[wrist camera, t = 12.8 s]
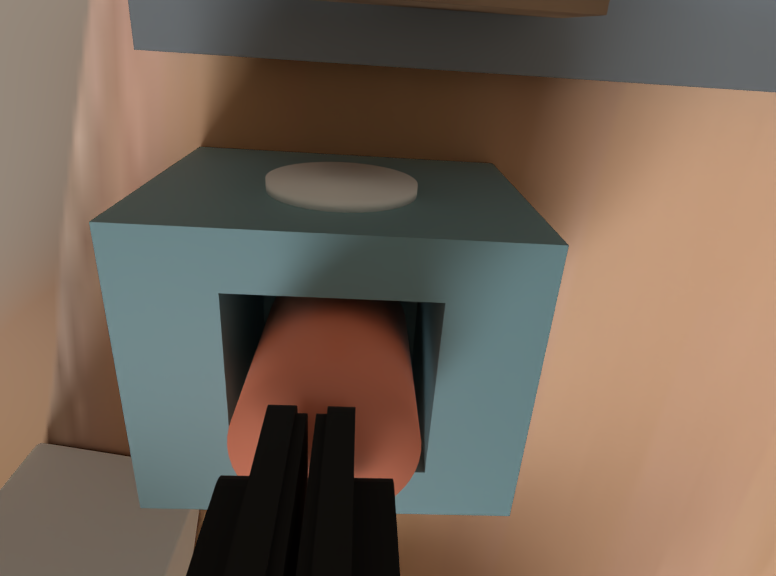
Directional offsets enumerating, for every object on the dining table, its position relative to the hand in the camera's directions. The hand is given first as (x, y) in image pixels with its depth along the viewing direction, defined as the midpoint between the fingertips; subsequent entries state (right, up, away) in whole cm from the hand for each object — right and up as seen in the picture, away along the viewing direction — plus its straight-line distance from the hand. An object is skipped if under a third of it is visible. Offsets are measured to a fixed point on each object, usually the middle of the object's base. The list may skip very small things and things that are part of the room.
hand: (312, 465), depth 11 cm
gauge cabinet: (0, +4, +10) cm, 11 cm away
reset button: (0, +2, +5) cm, 6 cm away
